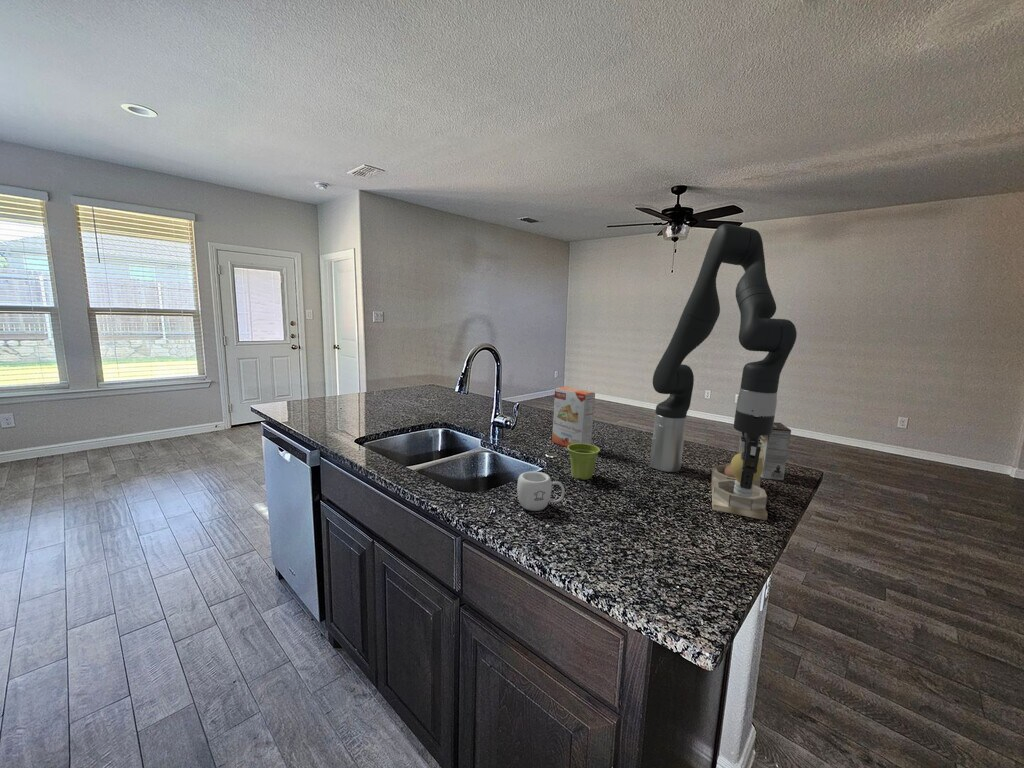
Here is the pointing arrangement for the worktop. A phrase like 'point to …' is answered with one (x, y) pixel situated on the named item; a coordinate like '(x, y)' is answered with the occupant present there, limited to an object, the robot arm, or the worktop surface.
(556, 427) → the cracker box
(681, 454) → the robot arm
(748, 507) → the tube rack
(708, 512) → the worktop surface
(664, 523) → the worktop surface
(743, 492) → the light bulb
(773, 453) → the coffee box
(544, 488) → the mug
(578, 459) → the plant pot
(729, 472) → the terracotta ball
